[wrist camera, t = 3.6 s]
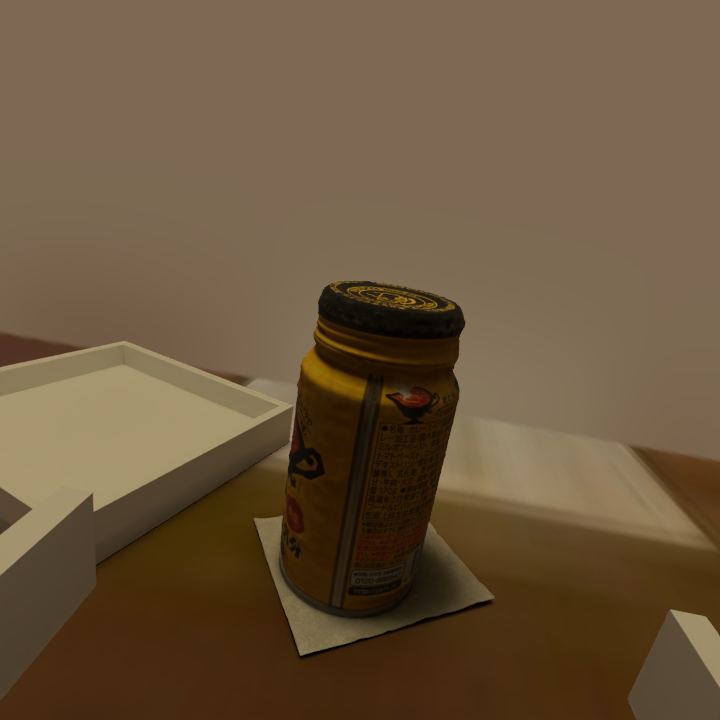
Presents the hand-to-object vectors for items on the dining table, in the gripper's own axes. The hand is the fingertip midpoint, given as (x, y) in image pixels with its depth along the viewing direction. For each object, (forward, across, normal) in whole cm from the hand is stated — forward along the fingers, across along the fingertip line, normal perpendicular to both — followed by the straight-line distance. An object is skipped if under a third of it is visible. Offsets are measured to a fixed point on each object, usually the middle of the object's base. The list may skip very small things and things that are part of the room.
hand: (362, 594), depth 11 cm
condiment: (+8, 0, -7) cm, 11 cm away
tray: (+13, -15, -6) cm, 21 cm away
